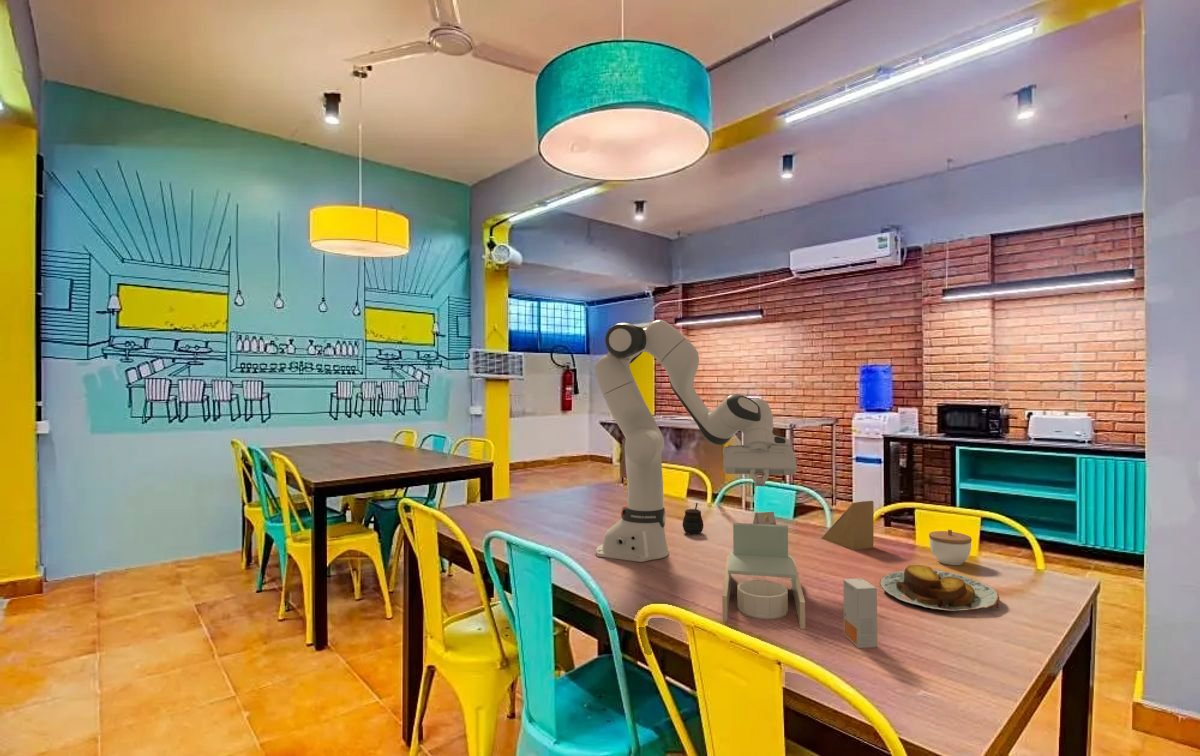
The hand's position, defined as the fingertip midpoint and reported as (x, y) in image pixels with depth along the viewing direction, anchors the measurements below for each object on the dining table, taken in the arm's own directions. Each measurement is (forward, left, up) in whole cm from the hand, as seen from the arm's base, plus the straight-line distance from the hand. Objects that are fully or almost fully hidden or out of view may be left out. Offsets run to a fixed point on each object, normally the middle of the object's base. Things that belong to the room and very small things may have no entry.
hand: (759, 485), depth 166 cm
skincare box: (+19, -40, -25) cm, 51 cm away
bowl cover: (0, -13, -18) cm, 23 cm away
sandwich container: (+28, +38, -25) cm, 54 cm away
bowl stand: (0, -20, -24) cm, 32 cm away
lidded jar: (+54, +23, -25) cm, 63 cm away
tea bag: (+2, +33, -25) cm, 41 cm away
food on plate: (+42, -9, -25) cm, 49 cm away
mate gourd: (-22, +40, -25) cm, 52 cm away
